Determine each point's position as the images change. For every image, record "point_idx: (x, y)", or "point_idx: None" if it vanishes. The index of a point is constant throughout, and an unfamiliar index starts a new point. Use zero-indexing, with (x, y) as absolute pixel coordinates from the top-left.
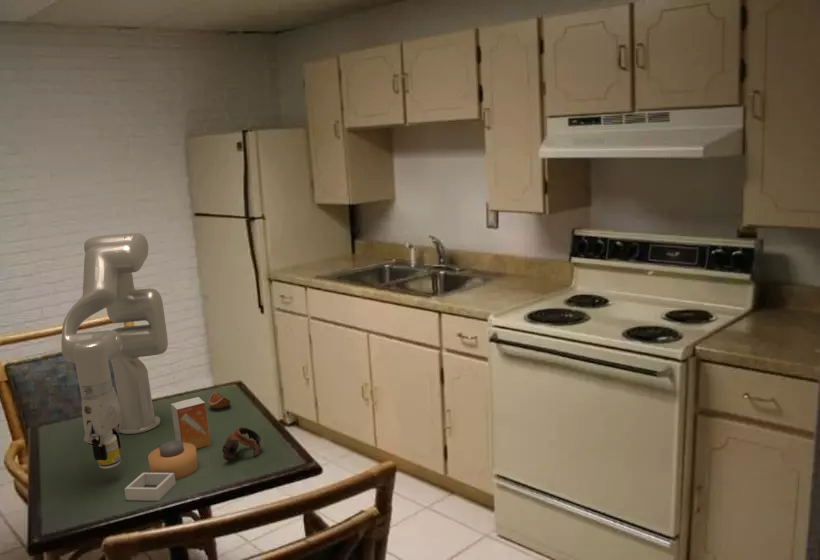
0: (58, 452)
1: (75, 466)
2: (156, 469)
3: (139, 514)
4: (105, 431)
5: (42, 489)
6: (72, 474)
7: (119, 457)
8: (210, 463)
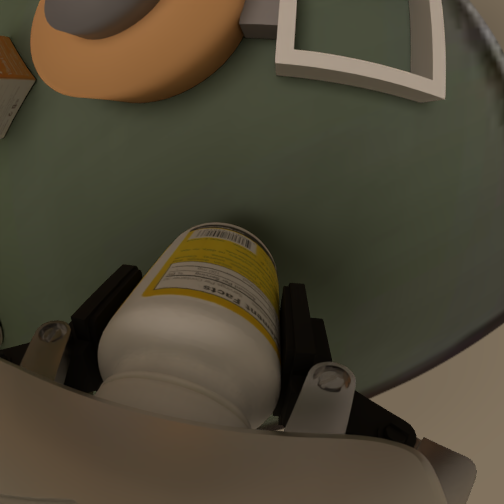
0: None
1: None
2: (238, 13)
3: (494, 40)
4: (356, 471)
5: None
6: None
7: (201, 231)
8: None
